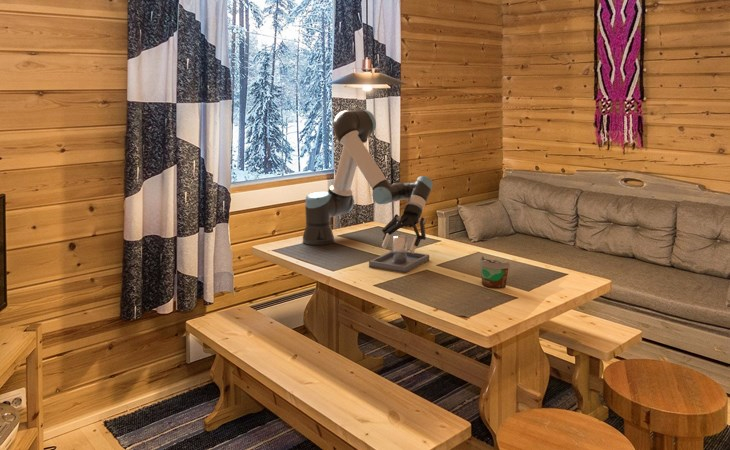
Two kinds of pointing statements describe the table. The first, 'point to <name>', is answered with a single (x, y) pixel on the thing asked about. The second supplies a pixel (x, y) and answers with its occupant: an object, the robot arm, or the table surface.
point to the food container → (494, 273)
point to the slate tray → (387, 264)
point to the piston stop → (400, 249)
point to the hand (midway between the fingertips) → (397, 249)
